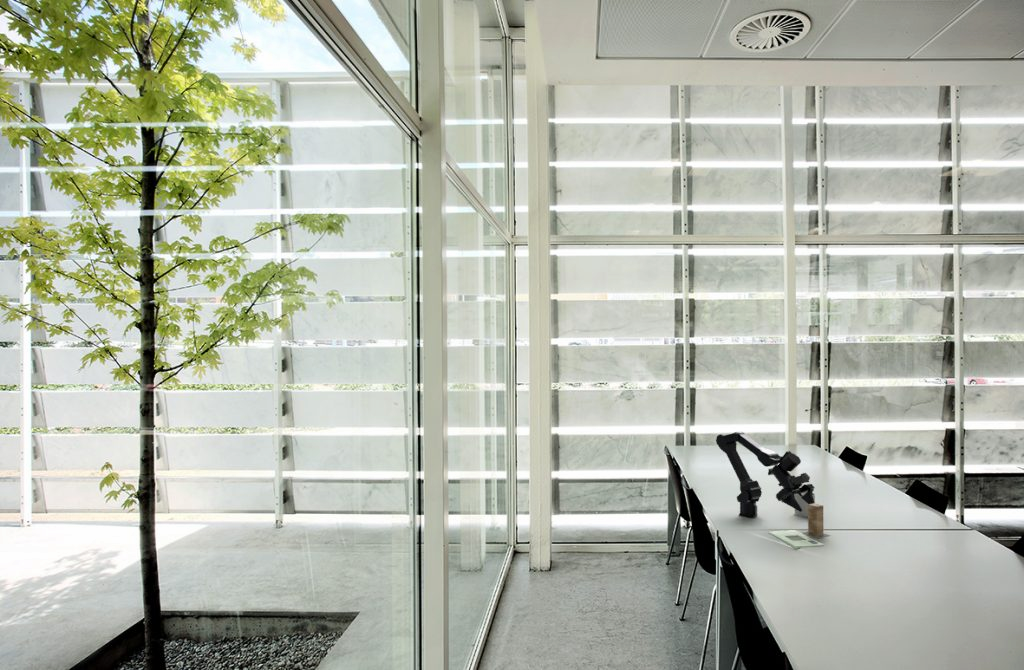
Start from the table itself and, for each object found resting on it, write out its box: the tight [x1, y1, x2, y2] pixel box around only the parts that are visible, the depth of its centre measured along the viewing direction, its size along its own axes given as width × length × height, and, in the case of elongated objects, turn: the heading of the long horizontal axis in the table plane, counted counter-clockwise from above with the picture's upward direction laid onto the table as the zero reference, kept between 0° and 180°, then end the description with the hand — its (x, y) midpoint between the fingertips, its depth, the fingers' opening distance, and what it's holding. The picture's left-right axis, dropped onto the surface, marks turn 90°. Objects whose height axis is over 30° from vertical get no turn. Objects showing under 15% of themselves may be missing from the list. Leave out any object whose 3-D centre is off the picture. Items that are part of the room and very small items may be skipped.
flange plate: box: [768, 529, 825, 550], centre depth 241 cm, size 18×12×1 cm, turn 9°
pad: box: [801, 531, 832, 540], centre depth 247 cm, size 8×8×1 cm
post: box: [807, 502, 825, 537], centre depth 247 cm, size 4×4×12 cm
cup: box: [794, 492, 816, 518], centre depth 275 cm, size 8×8×10 cm
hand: (808, 509), depth 250 cm, fingers open, 9 cm apart
